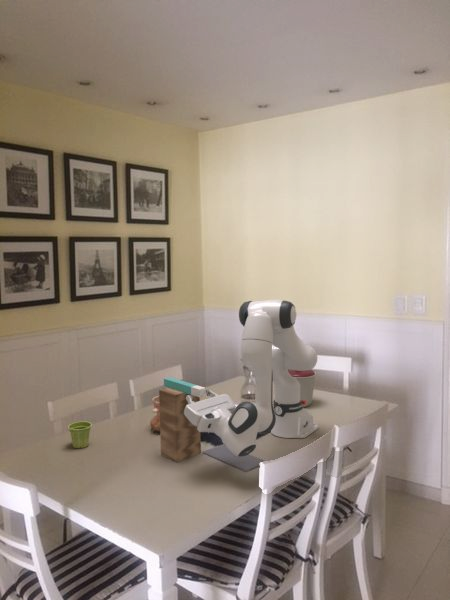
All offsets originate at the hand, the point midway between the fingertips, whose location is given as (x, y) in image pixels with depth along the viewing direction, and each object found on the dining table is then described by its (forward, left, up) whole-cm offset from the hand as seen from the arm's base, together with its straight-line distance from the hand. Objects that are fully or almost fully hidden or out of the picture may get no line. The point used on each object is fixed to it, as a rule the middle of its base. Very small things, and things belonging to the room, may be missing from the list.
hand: (197, 393), depth 186 cm
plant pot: (+24, -47, -27) cm, 59 cm away
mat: (-12, +7, -26) cm, 30 cm away
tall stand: (0, -11, -26) cm, 29 cm away
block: (0, -8, 0) cm, 8 cm away
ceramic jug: (-13, -37, -27) cm, 47 cm away
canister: (-81, -17, -27) cm, 87 cm away
